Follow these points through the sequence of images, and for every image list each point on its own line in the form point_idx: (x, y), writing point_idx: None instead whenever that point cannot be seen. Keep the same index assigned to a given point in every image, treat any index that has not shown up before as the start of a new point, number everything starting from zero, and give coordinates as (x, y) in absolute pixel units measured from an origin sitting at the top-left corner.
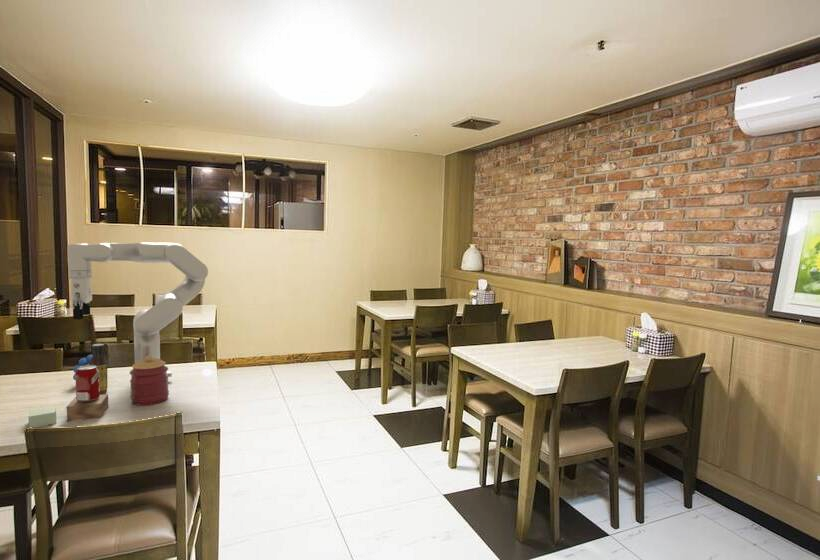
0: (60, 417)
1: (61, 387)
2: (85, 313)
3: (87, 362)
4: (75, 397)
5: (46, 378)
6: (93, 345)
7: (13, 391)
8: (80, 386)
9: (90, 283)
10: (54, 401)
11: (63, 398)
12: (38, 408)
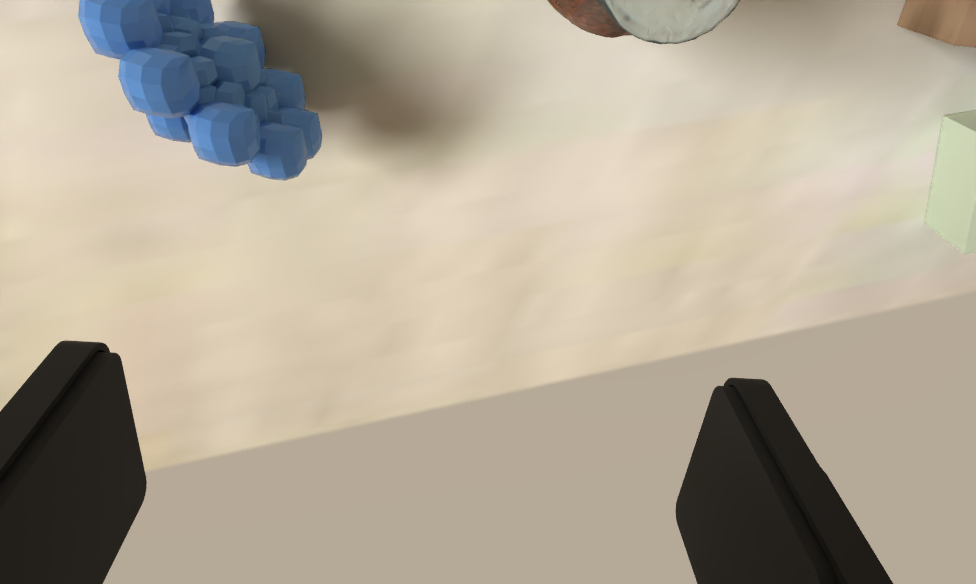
0: (970, 91)
1: (323, 201)
2: (118, 441)
3: (215, 92)
4: (966, 43)
5: (81, 321)
6: (712, 21)
7: (328, 407)
8: None
9: None
10: (625, 182)
11: (586, 144)
12: (972, 218)
